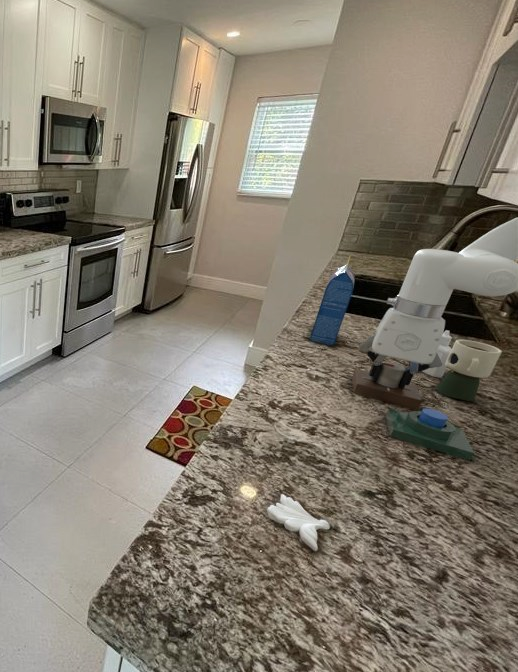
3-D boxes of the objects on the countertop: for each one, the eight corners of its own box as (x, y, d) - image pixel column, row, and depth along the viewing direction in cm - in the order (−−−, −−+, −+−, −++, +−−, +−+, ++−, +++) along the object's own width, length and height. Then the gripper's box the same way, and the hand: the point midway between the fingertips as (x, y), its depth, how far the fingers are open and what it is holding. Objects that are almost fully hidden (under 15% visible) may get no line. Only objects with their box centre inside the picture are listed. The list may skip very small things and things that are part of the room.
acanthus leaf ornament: (315, 555, 55) (319, 545, 54) (260, 521, 60) (263, 511, 59) (332, 526, 60) (336, 516, 59) (280, 497, 64) (283, 487, 64)
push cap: (441, 421, 79) (446, 412, 78) (445, 430, 76) (450, 421, 76) (416, 415, 81) (420, 406, 80) (419, 423, 78) (424, 414, 78)
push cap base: (457, 437, 80) (465, 420, 79) (469, 463, 74) (479, 444, 72) (384, 417, 86) (391, 400, 85) (389, 438, 80) (397, 421, 78)
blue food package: (307, 341, 122) (334, 259, 113) (312, 330, 131) (337, 253, 122) (333, 348, 118) (363, 264, 109) (336, 336, 127) (363, 257, 118)
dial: (396, 382, 94) (404, 364, 92) (399, 389, 91) (407, 370, 89) (374, 377, 96) (381, 359, 95) (376, 384, 93) (383, 365, 92)
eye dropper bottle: (419, 375, 105) (438, 332, 100) (414, 366, 109) (433, 325, 105) (442, 380, 102) (463, 336, 98) (437, 371, 107) (456, 329, 102)
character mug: (432, 382, 101) (454, 334, 97) (473, 393, 97) (499, 343, 92) (432, 399, 94) (456, 347, 89) (477, 412, 89) (505, 359, 85)
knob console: (410, 394, 95) (415, 382, 94) (416, 412, 88) (422, 399, 87) (351, 379, 101) (355, 368, 100) (352, 394, 94) (357, 383, 93)
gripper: (369, 303, 89) (341, 377, 95) (479, 323, 80) (440, 403, 86) (366, 295, 94) (340, 365, 101) (469, 312, 85) (433, 388, 92)
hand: (387, 382), depth 94 cm, fingers closed on dial, 4 cm apart
